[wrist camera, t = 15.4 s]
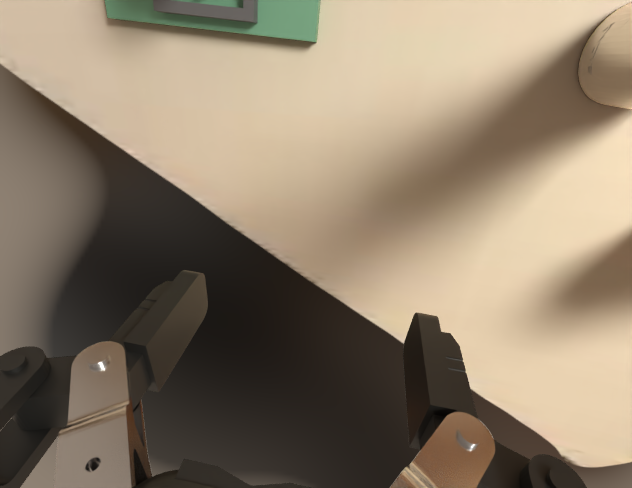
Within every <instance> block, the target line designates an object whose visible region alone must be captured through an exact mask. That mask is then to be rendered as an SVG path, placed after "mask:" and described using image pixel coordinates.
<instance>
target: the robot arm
mask: <svg viewBox="0 0 632 488" xmlns="http://www.w3.org/2000/svg"><path fill="white" fill-rule="evenodd" d="M578 75H579V82H580V85H581V88H582V90H583V91H584V93H585V94H586V95H587V96H588V97H589V98H590V99H592V100H593V101H595V102H597V103H600V104H603V105H609V106H615V107H621V108H626V109H631V110H632V2H631V3H629V4H627V5H625V6H623V7H621V8H619V9H618V10H616V11H615V12H614V13H612V14H611V15H610V16H608V17H607V18H606V19H605V20H604V21H603V22H602V23H601V24H600V25H599V26H598V27H597V28H596V30H595V31H594V32H593V34H592V35H591V36H590V38H589V39H588V41H587V43H586V45H585V47H584V49H583V52H582V55H581V58H580V61H579V69H578ZM207 308H208V300H207V291H206V282H205V276H204V274H203V273H197V272H192V271H187V270H183V271H181V272H180V273H179V275H178V276H177V277H176V278H175V279H174V280H173V282H171V281H166V282H164V283H162V284H161V285H159V286H157V287H156V288H154V289H153V290H152V291H151V293H150V294H149V295H148V296H147V297H146V298H145V301H143V302H142V303H141V304H140V305H139V306H138V309H136V310H135V311H134V312H133V313H132V314H131V315H130V317H129V318H128V319H127V320H126V321H125V322H124V323H123V325H122V326H121V327H120V328H119V329H118V330H117V331H116V332H115V334H114V335H113V336H112V337H111V338H110V339H109V340H108V341H106V342H100V343H96V344H94V345H91V346H89V347H88V348H86V349H84V350H83V351H82V352H81V353H79V354H78V355H77V356H66V357H54V358H46V355H45V354H44V352H43V350H41V349H40V348H37V347H22V348H18V349H15V350H12V351H10V352H7V353H5V354H3V355H2V356H0V430H1V429H2V428H3V427H4V428H3V429H2V430H1V431H0V488H20V487H21V485H22V484H23V483H24V481H25V480H26V478H27V477H28V476H29V474H30V473H31V472H32V470H33V469H34V468H35V466H36V465H37V463H38V462H39V461H40V459H41V458H42V457H43V455H44V454H45V452H46V451H47V449H48V448H49V447H50V446H51V444H52V443H53V442H54V440H55V439H56V437H57V436H58V443H57V456H56V466H55V478H54V488H310V487H306V486H301V485H297V484H293V483H284V484H270V485H257V486H251V485H249V484H247V483H245V482H243V481H242V480H240V479H238V478H237V477H235V476H233V475H232V474H230V473H228V472H227V471H225V470H223V469H221V468H220V467H218V466H214V465H209V464H205V463H201V462H197V461H192V460H188V459H184V460H183V462H182V464H181V466H180V469H179V470H172V471H168V472H164V473H161V474H158V475H155V476H154V477H152V472H151V467H150V462H149V458H148V452H147V443H146V435H145V426H144V417H143V408H142V402H141V399H142V397H143V395H144V394H145V392H146V391H147V390H150V391H155V392H159V391H160V390H161V388H162V386H163V385H164V383H165V381H166V380H167V378H168V376H169V375H170V373H171V372H172V370H173V368H174V366H175V365H176V363H177V362H178V360H179V358H180V357H181V355H182V354H183V352H184V350H185V349H186V347H187V345H188V344H189V342H190V341H191V339H192V337H193V336H194V334H195V332H196V331H197V329H198V327H199V326H200V324H201V323H202V321H203V319H204V317H205V315H206V312H207ZM403 365H404V379H405V391H406V392H405V393H406V407H407V420H408V434H409V447H411V448H416V449H420V452H419V453H418V455H417V456H416V457H415V459H414V460H413V461H412V462H411V464H410V465H409V466H407V467H406V468H405V469H404V470H403V471H402V472H401V474H400V475H399V476H398V478H397V479H396V480H395V482H394V483H393V484H392V485H391V487H390V488H587V487H586V486H585V484H584V482H583V481H582V479H581V478H580V477H579V476H578V474H577V473H576V472H575V471H574V470H573V469H572V468H570V467H569V466H568V465H567V464H566V463H564V462H562V461H561V460H559V459H557V458H555V457H552V456H550V455H545V454H542V455H536V456H534V457H533V458H532V459H531V460H530V459H528V458H526V457H524V456H522V455H520V454H518V453H516V452H514V451H512V450H510V449H508V448H506V447H505V446H503V445H501V444H500V443H498V442H497V441H496V440H494V439H493V437H492V435H491V433H490V432H489V430H488V429H487V427H486V426H485V425H484V424H483V423H482V422H481V421H480V420H479V419H478V416H477V413H476V409H475V405H474V401H473V398H472V393H471V390H470V386H469V382H468V378H467V374H466V373H465V371H466V370H465V366H464V362H463V358H462V354H461V350H460V346H459V345H458V343H457V342H456V341H455V339H454V338H453V336H452V335H451V334H450V333H445V332H441V329H440V324H439V320H438V317H437V316H433V315H427V314H422V313H415V314H414V317H413V319H412V322H411V325H410V328H409V331H408V333H407V336H406V339H405V342H404V348H403ZM11 418H12V419H11ZM10 419H11V420H10ZM9 420H10V421H9ZM8 421H9V422H8ZM7 422H8V423H7ZM6 423H7V424H6ZM64 426H65V427H64Z"/></svg>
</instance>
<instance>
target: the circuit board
mask: <svg viewBox="0 0 632 488" xmlns="http://www.w3.org/2000/svg"><path fill="white" fill-rule="evenodd" d="M105 5H106V11H107V17H108V18H112V19H119V20H127V21H136V22H144V23H153V24H162V25H170V26H179V27H188V28H196V29H205V30H213V31H222V32H231V33H239V34H248V35H257V36H265V37H274V38H283V39H291V40H300V41H308V42H317V34H318V22H319V11H320V0H105Z"/></svg>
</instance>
